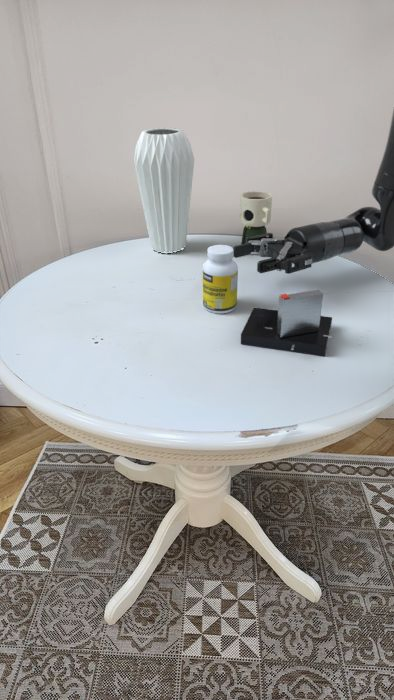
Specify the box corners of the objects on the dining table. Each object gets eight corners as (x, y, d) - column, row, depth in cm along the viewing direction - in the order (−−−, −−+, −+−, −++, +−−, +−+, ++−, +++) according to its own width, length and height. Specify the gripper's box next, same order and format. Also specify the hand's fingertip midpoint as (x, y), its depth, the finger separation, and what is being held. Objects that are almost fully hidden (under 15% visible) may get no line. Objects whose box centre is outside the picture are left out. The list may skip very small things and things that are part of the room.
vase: (129, 250, 127) (118, 133, 113) (167, 234, 135) (161, 123, 121) (170, 263, 119) (163, 139, 105) (207, 246, 128) (206, 129, 114)
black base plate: (334, 327, 94) (336, 316, 93) (326, 365, 84) (328, 354, 83) (253, 316, 98) (253, 306, 97) (236, 352, 88) (236, 340, 86)
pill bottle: (195, 306, 102) (194, 249, 95) (220, 296, 105) (220, 239, 99) (219, 318, 97) (219, 259, 91) (244, 307, 101) (245, 249, 95)
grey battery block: (314, 326, 90) (318, 287, 86) (318, 331, 89) (323, 292, 85) (276, 333, 88) (279, 294, 85) (280, 338, 87) (283, 298, 83)
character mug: (229, 245, 128) (230, 191, 121) (254, 240, 131) (257, 187, 124) (253, 261, 120) (255, 203, 113) (279, 255, 122) (283, 199, 115)
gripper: (293, 215, 109) (225, 229, 102) (341, 235, 98) (268, 253, 91) (291, 249, 113) (225, 265, 106) (336, 273, 102) (266, 292, 95)
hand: (245, 259), depth 99 cm, fingers open, 8 cm apart
